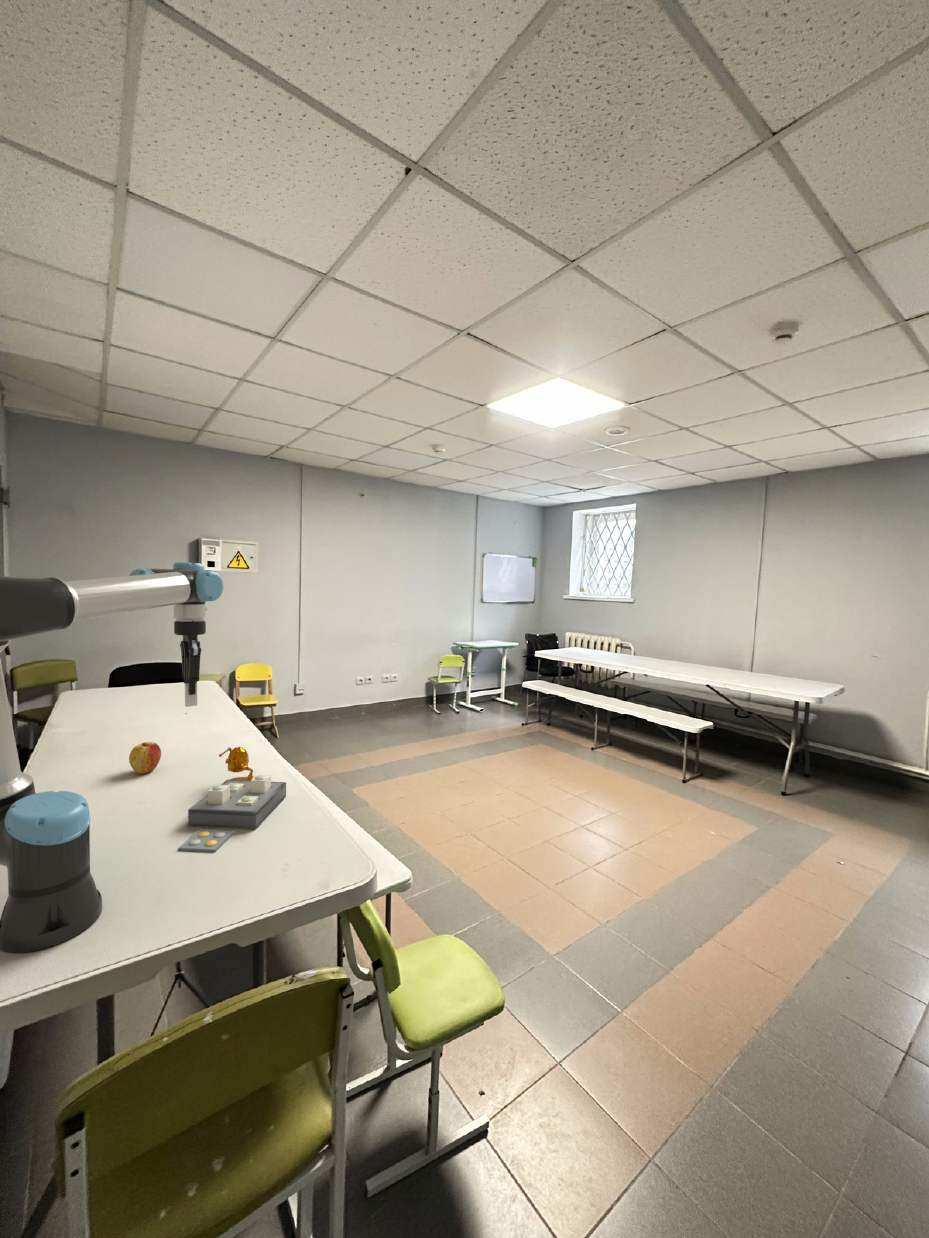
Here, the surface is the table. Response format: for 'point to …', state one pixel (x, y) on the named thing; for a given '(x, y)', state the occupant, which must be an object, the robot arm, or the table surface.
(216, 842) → the card
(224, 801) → the button near left
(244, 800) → the button near right
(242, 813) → the button box
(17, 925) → the robot arm
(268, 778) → the button far right
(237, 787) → the button far left
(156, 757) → the apple
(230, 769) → the figurine
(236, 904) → the table surface
